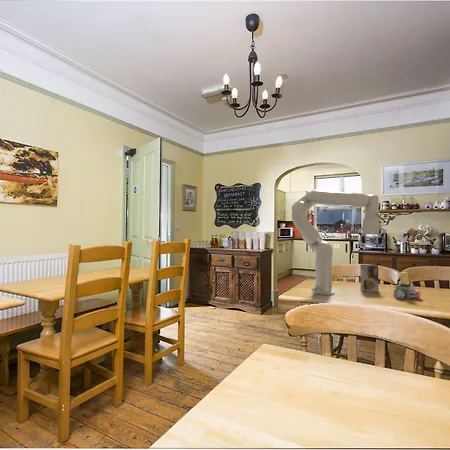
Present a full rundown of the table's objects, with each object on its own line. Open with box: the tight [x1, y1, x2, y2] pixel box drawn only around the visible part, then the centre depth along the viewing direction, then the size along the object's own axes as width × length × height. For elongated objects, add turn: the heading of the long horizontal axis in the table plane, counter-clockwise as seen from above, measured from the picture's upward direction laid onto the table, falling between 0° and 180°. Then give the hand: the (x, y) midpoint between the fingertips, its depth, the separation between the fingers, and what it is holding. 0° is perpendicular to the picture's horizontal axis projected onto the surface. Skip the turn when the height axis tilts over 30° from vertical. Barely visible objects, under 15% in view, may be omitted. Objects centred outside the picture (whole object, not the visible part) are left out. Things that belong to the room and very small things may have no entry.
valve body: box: [393, 283, 421, 301], centre depth 175 cm, size 16×11×7 cm
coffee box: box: [359, 264, 380, 292], centre depth 193 cm, size 9×6×16 cm
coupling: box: [399, 271, 409, 287], centre depth 176 cm, size 4×4×10 cm
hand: (371, 243), depth 184 cm, fingers open, 9 cm apart
